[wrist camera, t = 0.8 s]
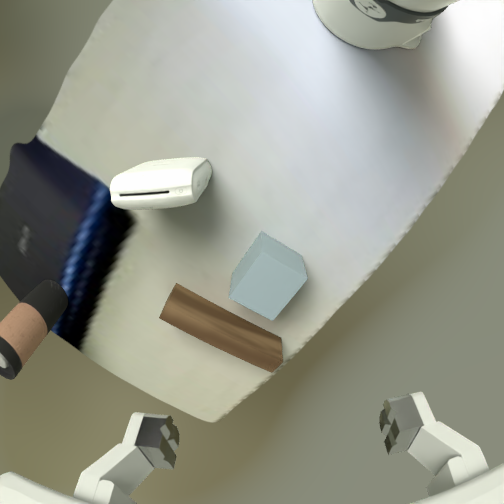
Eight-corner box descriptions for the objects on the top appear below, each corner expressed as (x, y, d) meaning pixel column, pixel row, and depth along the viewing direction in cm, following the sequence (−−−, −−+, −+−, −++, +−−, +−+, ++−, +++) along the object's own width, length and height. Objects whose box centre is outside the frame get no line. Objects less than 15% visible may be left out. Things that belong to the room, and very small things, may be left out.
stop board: (176, 283, 48) (166, 304, 42) (280, 337, 52) (282, 362, 47) (168, 296, 49) (159, 318, 43) (271, 348, 53) (272, 372, 48)
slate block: (261, 230, 44) (261, 251, 38) (301, 255, 45) (307, 278, 39) (232, 272, 47) (228, 297, 41) (271, 293, 48) (272, 320, 42)
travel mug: (65, 318, 52) (16, 387, 34) (37, 298, 51) (-18, 360, 32) (72, 292, 50) (15, 363, 31) (42, 270, 48) (-22, 333, 30)
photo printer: (212, 154, 40) (193, 169, 28) (213, 185, 41) (196, 212, 30) (140, 160, 40) (99, 178, 29) (143, 189, 42) (105, 217, 30)
